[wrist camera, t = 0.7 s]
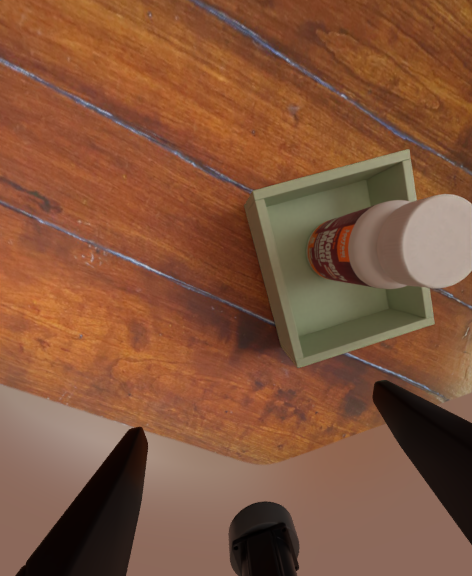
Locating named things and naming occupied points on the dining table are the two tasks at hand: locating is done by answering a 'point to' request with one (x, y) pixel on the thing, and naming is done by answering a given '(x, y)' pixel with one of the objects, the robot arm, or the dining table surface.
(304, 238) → the open box
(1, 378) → the dining table surface
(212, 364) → the dining table surface
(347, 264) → the pill bottle
